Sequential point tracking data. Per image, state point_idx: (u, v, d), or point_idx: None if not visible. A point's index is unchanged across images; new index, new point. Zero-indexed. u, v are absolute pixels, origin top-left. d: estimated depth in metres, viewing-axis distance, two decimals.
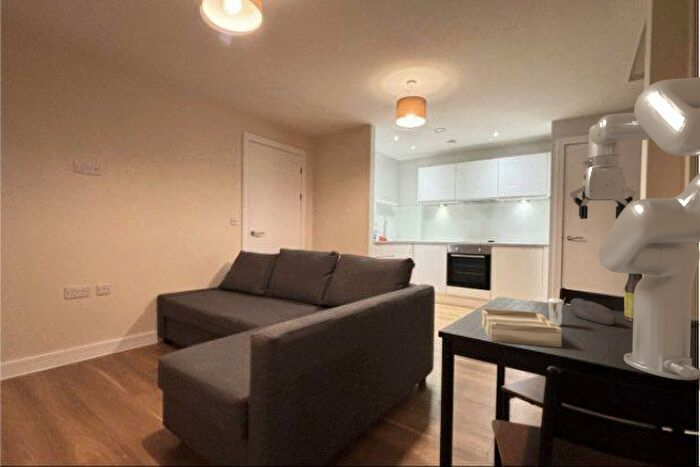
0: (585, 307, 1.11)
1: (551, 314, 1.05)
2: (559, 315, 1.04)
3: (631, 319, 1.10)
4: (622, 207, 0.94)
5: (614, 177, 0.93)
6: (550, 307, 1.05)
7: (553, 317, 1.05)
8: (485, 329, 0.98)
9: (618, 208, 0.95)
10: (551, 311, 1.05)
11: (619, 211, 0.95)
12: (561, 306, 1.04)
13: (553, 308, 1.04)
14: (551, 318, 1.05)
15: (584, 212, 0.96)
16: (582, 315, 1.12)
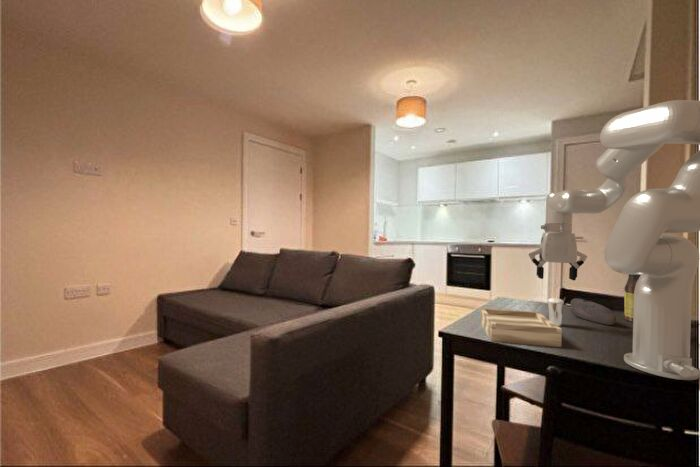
0: (585, 307, 1.11)
1: (551, 314, 1.05)
2: (559, 315, 1.04)
3: (631, 319, 1.10)
4: (574, 270, 1.03)
5: (567, 243, 1.02)
6: (550, 307, 1.05)
7: (553, 317, 1.05)
8: (485, 329, 0.98)
9: (571, 270, 1.05)
10: (551, 311, 1.05)
11: (571, 273, 1.04)
12: (561, 306, 1.04)
13: (553, 308, 1.04)
14: (551, 318, 1.05)
15: (540, 273, 1.06)
16: (582, 315, 1.12)
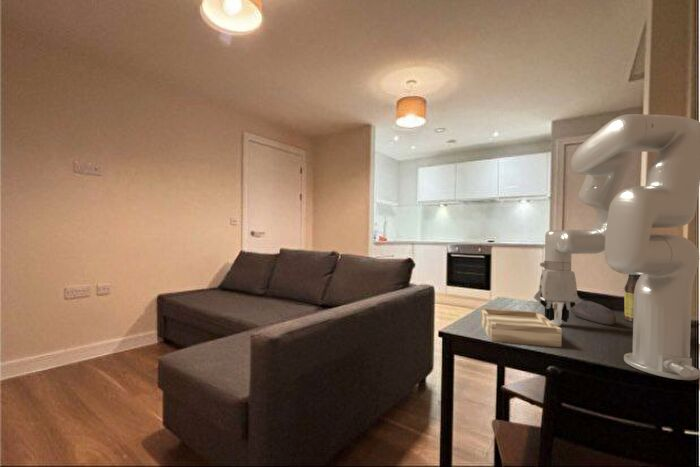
0: (585, 307, 1.11)
1: None
2: (559, 315, 1.04)
3: (631, 319, 1.10)
4: (565, 311, 1.03)
5: (566, 282, 1.02)
6: (551, 307, 1.05)
7: (553, 316, 1.05)
8: (485, 329, 0.98)
9: (563, 311, 1.05)
10: (552, 311, 1.05)
11: (563, 314, 1.04)
12: (562, 306, 1.04)
13: (554, 308, 1.04)
14: None
15: (549, 314, 1.05)
16: (582, 315, 1.12)
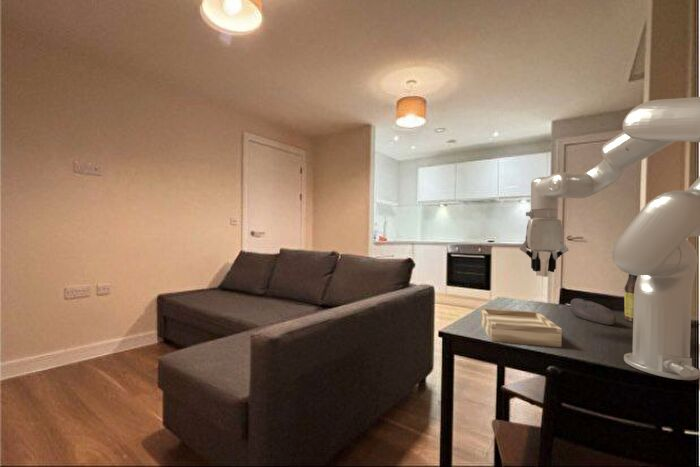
0: (585, 307, 1.11)
1: (538, 264, 1.01)
2: (546, 265, 1.00)
3: (631, 319, 1.10)
4: (552, 261, 0.99)
5: (552, 229, 0.98)
6: (537, 257, 1.01)
7: (539, 267, 1.01)
8: (485, 329, 0.98)
9: (550, 261, 1.01)
10: (538, 261, 1.01)
11: (550, 264, 1.00)
12: (548, 255, 1.00)
13: (540, 258, 1.01)
14: (538, 269, 1.01)
15: (535, 265, 1.01)
16: (582, 315, 1.12)
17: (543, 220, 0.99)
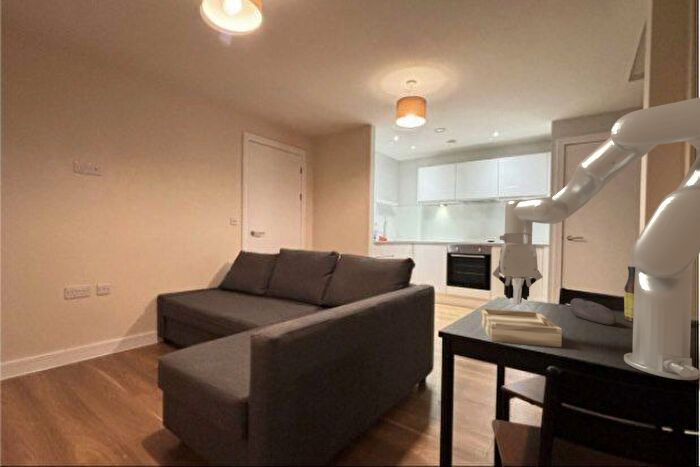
0: (585, 307, 1.11)
1: (511, 291, 0.96)
2: (519, 292, 0.95)
3: (631, 319, 1.10)
4: (525, 288, 0.94)
5: (526, 255, 0.93)
6: (510, 283, 0.96)
7: (512, 294, 0.96)
8: (485, 329, 0.98)
9: (523, 288, 0.96)
10: (511, 288, 0.96)
11: (523, 291, 0.95)
12: (521, 282, 0.95)
13: (513, 285, 0.95)
14: (511, 296, 0.96)
15: (508, 292, 0.96)
16: (582, 315, 1.12)
17: (517, 245, 0.94)
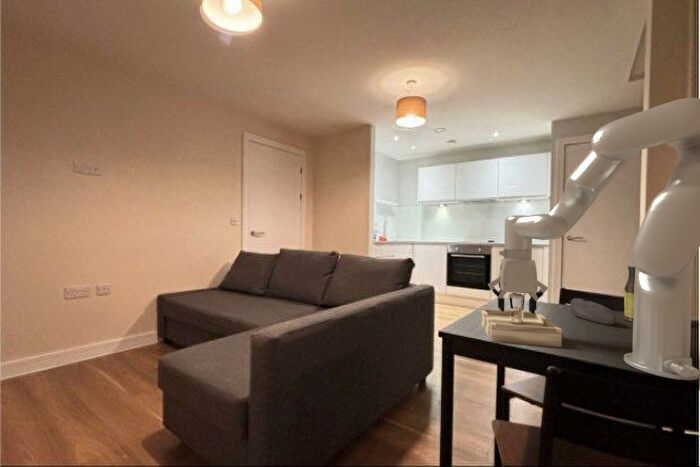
0: (585, 307, 1.11)
1: (511, 311, 0.96)
2: (520, 312, 0.95)
3: (631, 319, 1.10)
4: (533, 302, 0.94)
5: (526, 271, 0.93)
6: (510, 303, 0.96)
7: (513, 313, 0.96)
8: (485, 330, 0.98)
9: (530, 301, 0.95)
10: (511, 307, 0.96)
11: (531, 305, 0.95)
12: (521, 301, 0.94)
13: (513, 304, 0.95)
14: (511, 315, 0.96)
15: (501, 305, 0.96)
16: (582, 315, 1.12)
17: (516, 261, 0.94)
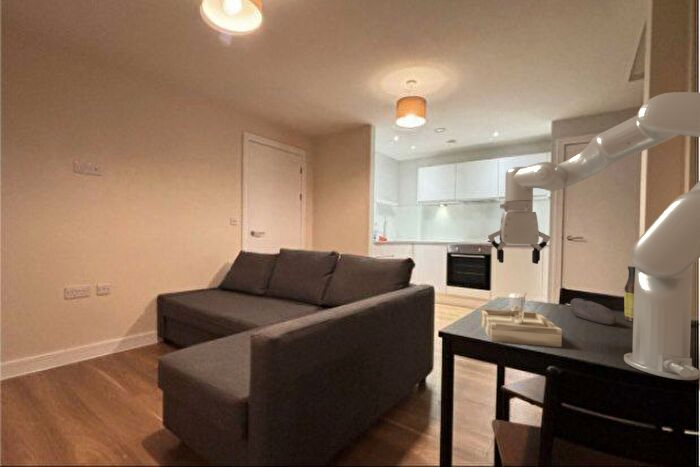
0: (585, 307, 1.11)
1: (512, 311, 0.96)
2: (520, 312, 0.94)
3: (631, 319, 1.10)
4: (536, 252, 0.93)
5: (527, 222, 0.93)
6: (511, 303, 0.96)
7: (513, 314, 0.95)
8: (485, 329, 0.98)
9: (533, 252, 0.95)
10: (512, 308, 0.96)
11: (534, 256, 0.94)
12: (522, 302, 0.94)
13: (513, 304, 0.95)
14: (512, 315, 0.96)
15: (500, 256, 0.96)
16: (582, 315, 1.12)
17: (517, 212, 0.93)
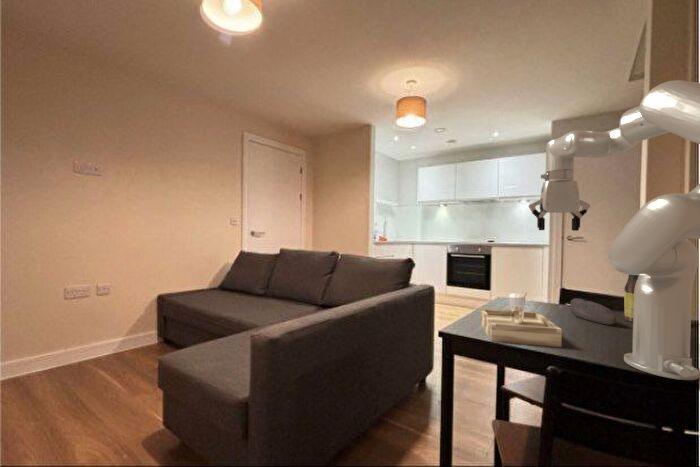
0: (585, 307, 1.11)
1: (512, 311, 0.96)
2: (520, 312, 0.94)
3: (631, 319, 1.10)
4: (576, 219, 0.98)
5: (568, 191, 0.97)
6: (511, 303, 0.96)
7: (513, 314, 0.95)
8: (485, 330, 0.98)
9: (573, 220, 0.99)
10: (512, 308, 0.96)
11: (574, 223, 0.99)
12: (522, 302, 0.94)
13: (514, 304, 0.95)
14: (512, 315, 0.96)
15: (541, 224, 1.00)
16: (582, 315, 1.12)
17: (559, 181, 0.98)
